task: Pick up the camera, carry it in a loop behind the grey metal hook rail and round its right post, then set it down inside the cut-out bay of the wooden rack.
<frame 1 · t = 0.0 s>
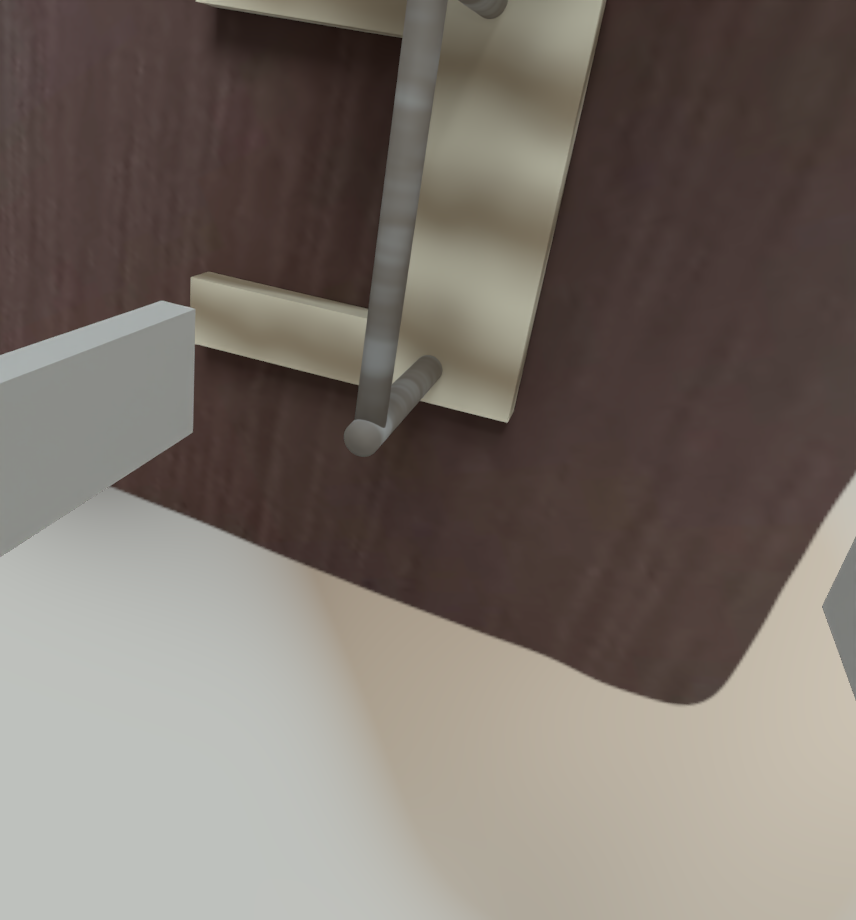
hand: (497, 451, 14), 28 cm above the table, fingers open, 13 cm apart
wooden rack: (377, 182, 41), on the table
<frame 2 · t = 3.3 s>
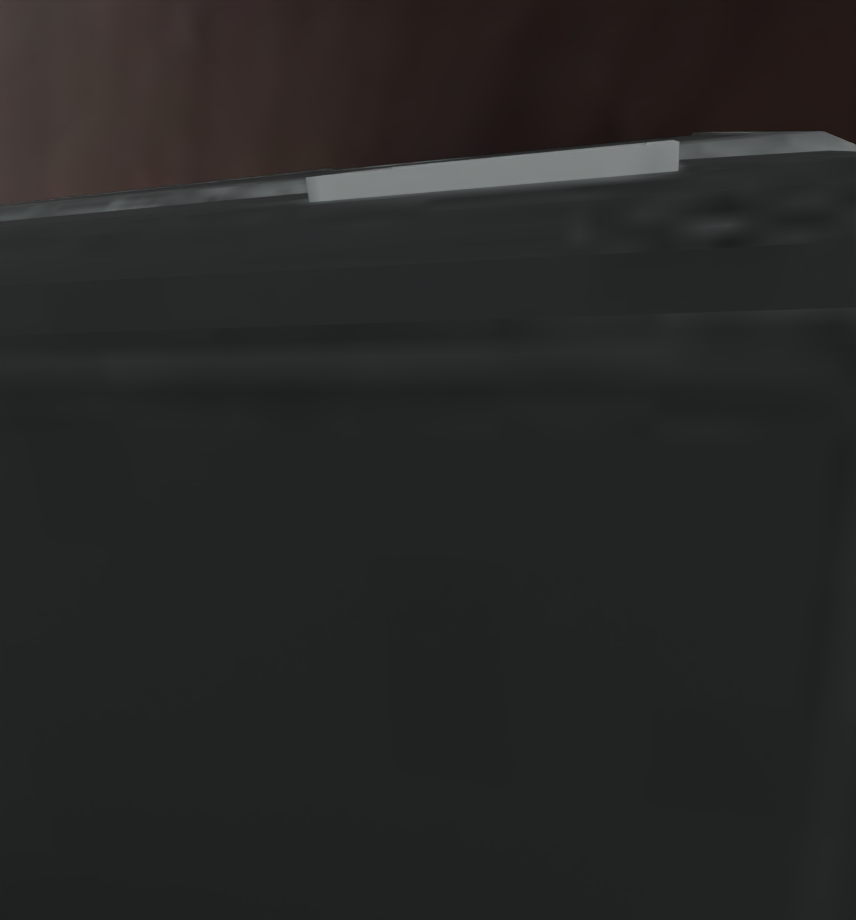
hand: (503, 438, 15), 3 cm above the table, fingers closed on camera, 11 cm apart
camera: (530, 388, 18), on the table, touching gripper
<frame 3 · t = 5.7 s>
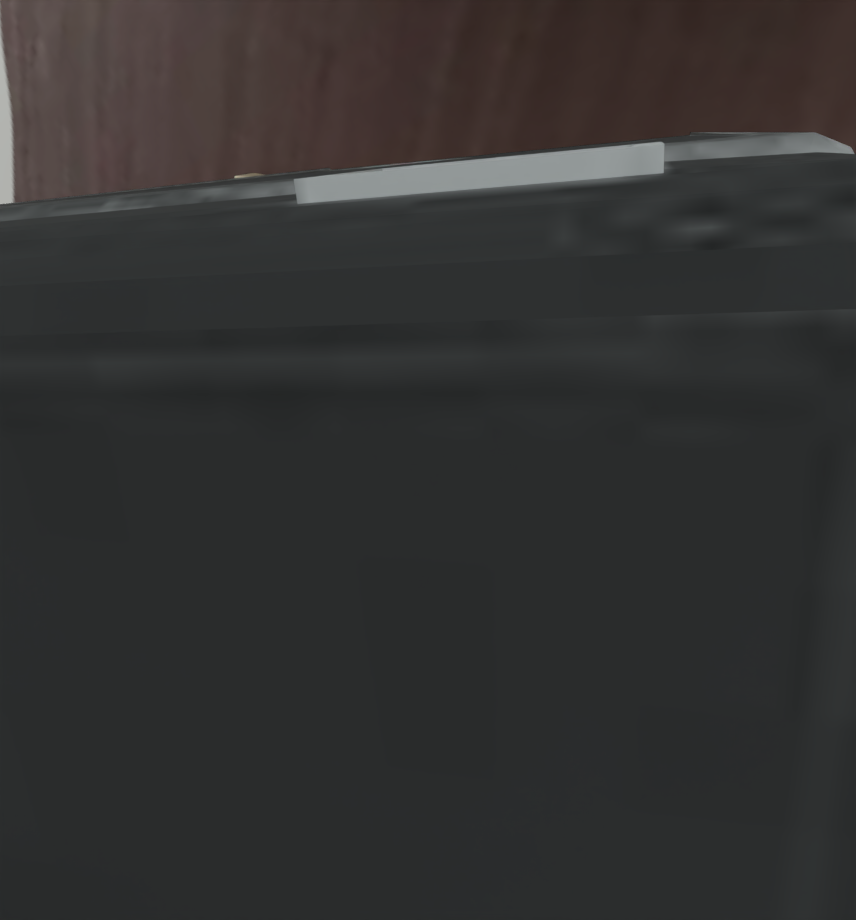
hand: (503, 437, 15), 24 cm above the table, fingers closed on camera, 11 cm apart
camera: (528, 388, 18), point 21 cm above the table, touching gripper
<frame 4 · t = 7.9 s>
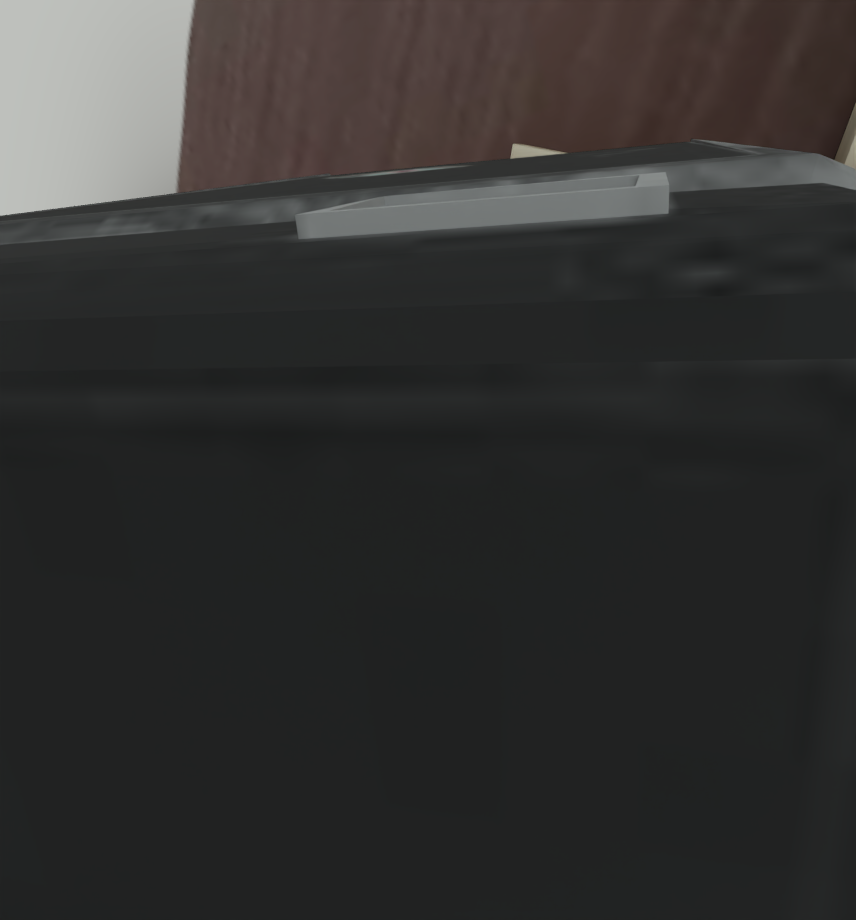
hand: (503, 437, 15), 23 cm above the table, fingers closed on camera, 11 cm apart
camera: (529, 393, 18), point 20 cm above the table, touching gripper
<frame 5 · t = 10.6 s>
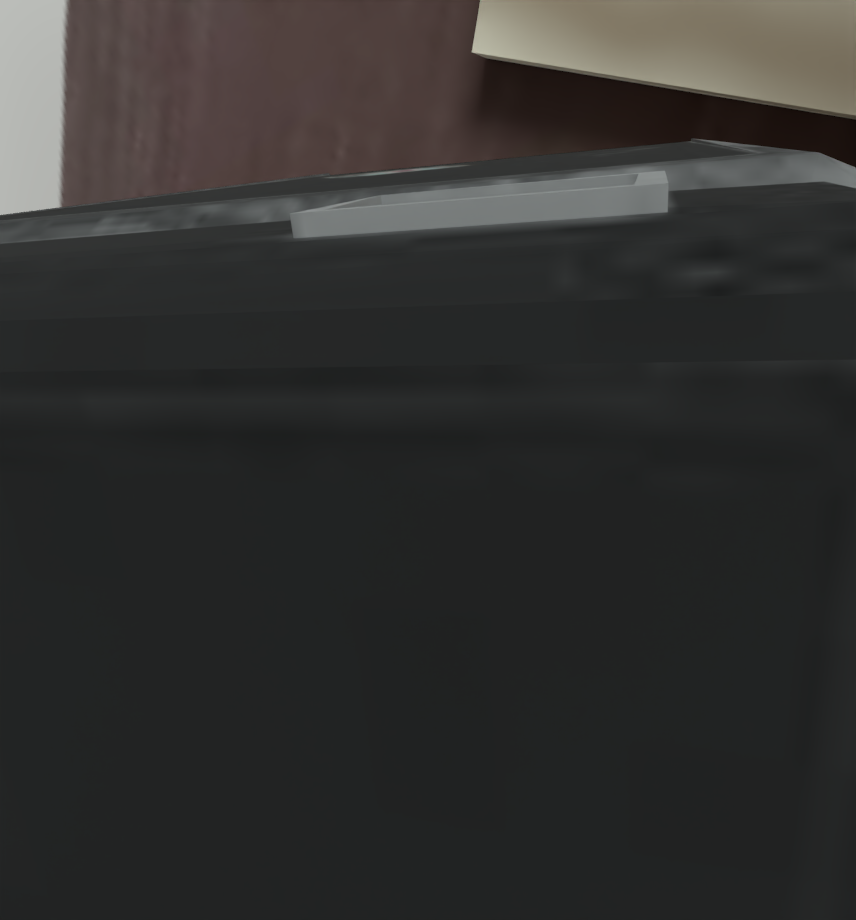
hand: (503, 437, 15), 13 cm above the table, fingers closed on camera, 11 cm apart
camera: (528, 393, 18), point 10 cm above the table, touching gripper
wooden rack: (731, 337, 25), on the table
when the fingers open (4 cm above the table, at t = 12.8 s): camera drops 1 cm, on the table.
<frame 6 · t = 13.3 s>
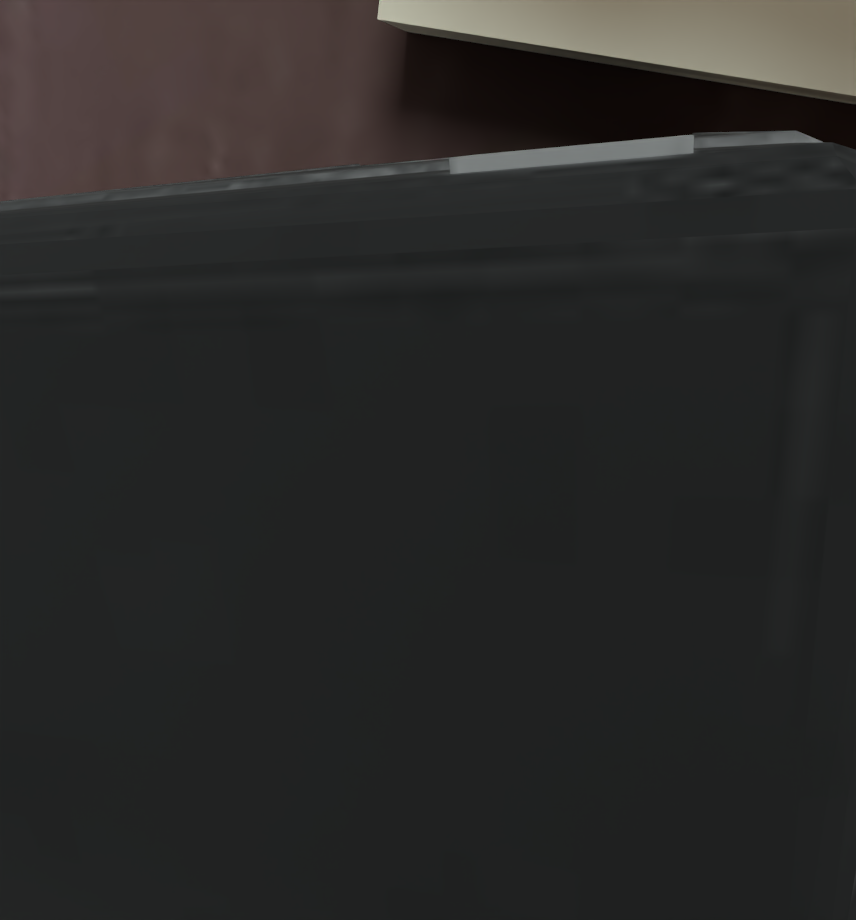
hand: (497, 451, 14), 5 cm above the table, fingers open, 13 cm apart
camera: (540, 370, 19), on the table
wooden rack: (758, 427, 18), on the table
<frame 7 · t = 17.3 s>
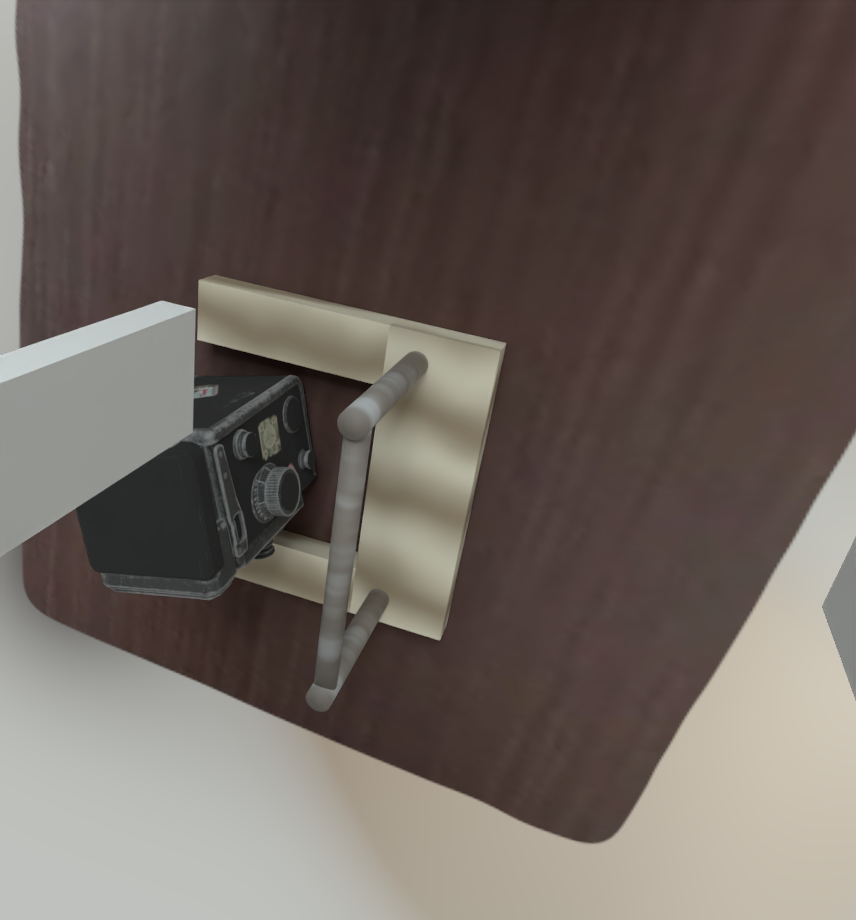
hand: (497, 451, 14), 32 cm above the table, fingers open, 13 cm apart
camera: (269, 438, 54), on the table
wooden rack: (337, 459, 52), on the table
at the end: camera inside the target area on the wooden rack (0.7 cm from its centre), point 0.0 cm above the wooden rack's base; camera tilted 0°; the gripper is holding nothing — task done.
